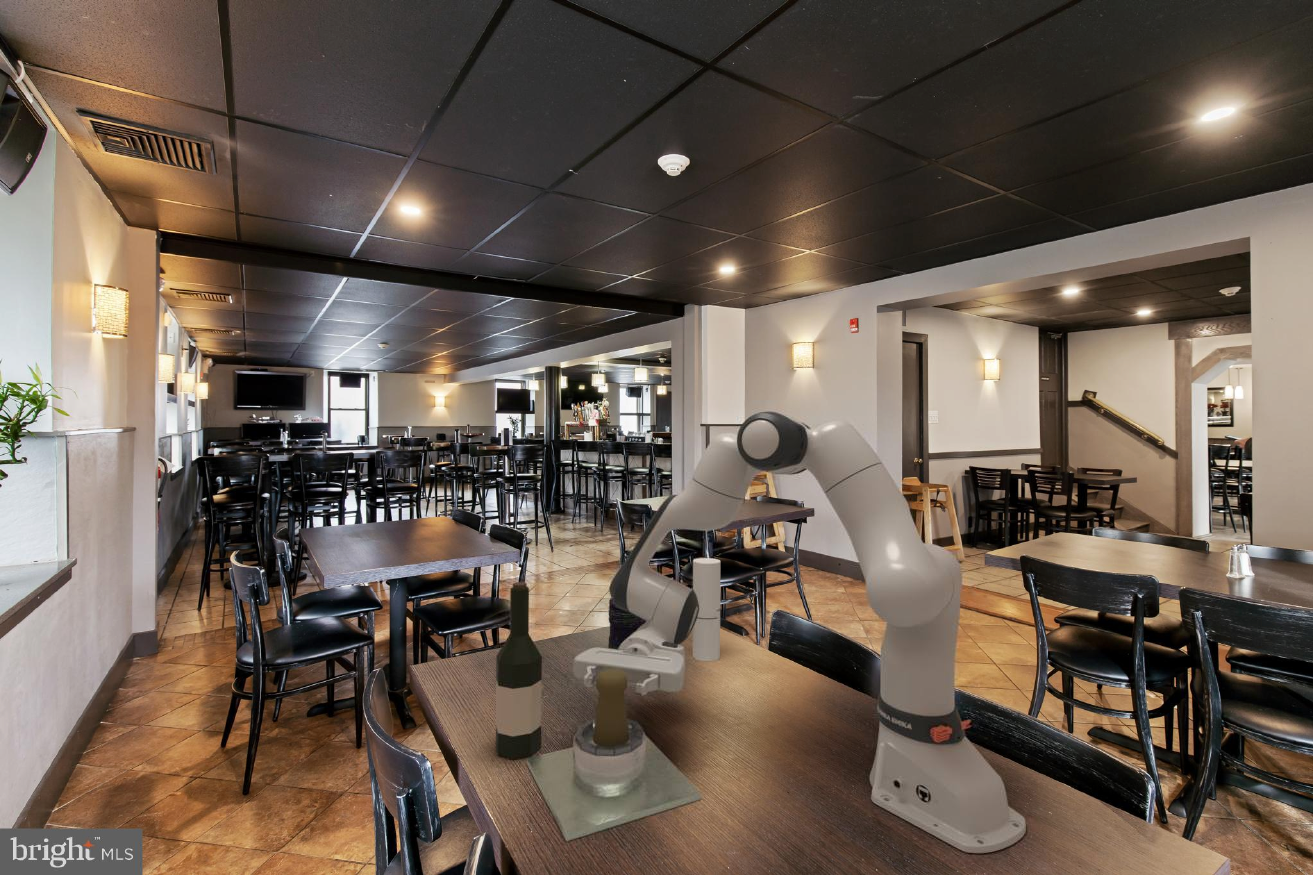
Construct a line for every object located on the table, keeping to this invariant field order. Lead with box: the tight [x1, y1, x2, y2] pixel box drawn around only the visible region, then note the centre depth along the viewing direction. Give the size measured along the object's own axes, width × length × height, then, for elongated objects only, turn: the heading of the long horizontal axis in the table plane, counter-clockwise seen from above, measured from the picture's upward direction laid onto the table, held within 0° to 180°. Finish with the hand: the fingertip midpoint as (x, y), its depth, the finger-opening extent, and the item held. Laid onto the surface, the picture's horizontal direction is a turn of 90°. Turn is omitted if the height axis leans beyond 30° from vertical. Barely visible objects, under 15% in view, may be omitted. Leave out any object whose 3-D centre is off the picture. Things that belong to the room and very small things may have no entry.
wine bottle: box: [495, 581, 543, 761], centre depth 107 cm, size 8×8×30 cm
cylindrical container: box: [692, 557, 721, 662], centre depth 154 cm, size 7×7×25 cm
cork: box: [593, 669, 629, 747], centre depth 97 cm, size 6×6×11 cm
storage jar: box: [608, 597, 647, 650], centre depth 152 cm, size 10×10×15 cm
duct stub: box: [526, 718, 702, 842], centre depth 97 cm, size 22×22×8 cm
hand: (613, 686), depth 99 cm, fingers open, 8 cm apart
